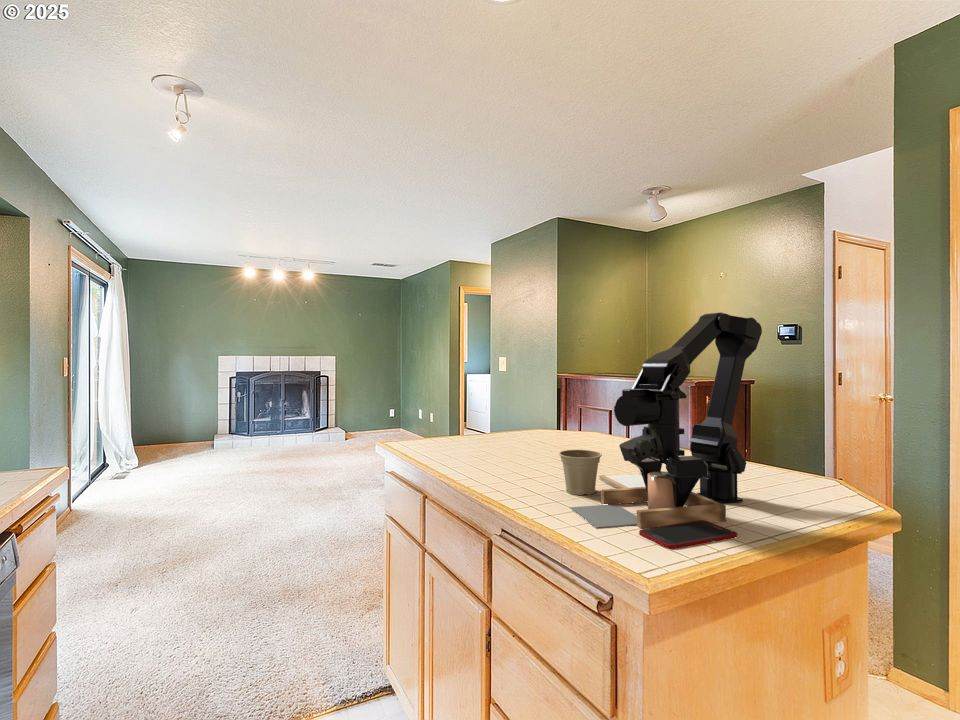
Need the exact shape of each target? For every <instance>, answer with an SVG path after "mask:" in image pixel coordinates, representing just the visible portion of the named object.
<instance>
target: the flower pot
mask: <svg viewBox="0 0 960 720" xmlns="http://www.w3.org/2000/svg"><path fill="white" fill-rule="evenodd" d="M558 455H559V456H560V460H561V463H562V468H563V469H562V470H563V475H564V481H565V489H566V492H568V494H571V495H576V496H583V495H588V496H590V495H592V494H594V493H595V492H596V485H597V484H596V483H597V476H598V467H599V463H600V462H601V457H602V456H603V455H602V453H601V452H600V451H596V450H591V449H589V450H588V449H566V450H561V451H560V452H558Z"/></svg>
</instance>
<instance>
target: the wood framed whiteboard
mask: <svg viewBox="0 0 960 720" xmlns="http://www.w3.org/2000/svg"><path fill="white" fill-rule="evenodd" d="M598 476H599V477H598V479H599V480H600V481H601V482H603V483H605V484H606V485H609V486H611V487H613V489H619V488H635V487H645V483H644V480H643V477H642V474H641V472H640V473H638V474H627V475H614V476H613V475H611V476H608V475H607V476H606V475H605V474H604V475H603V474H602V475H598Z"/></svg>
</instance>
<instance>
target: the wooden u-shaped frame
mask: <svg viewBox="0 0 960 720" xmlns="http://www.w3.org/2000/svg"><path fill="white" fill-rule="evenodd" d="M644 501H648V493H647V490H646V487H635V488H619V489H616V488H606V489H601V490H600V504H601V503H602V504H601V505H603V504H617V505H620V504H619V503H625V504H633V503H632V502H638V503H645V502H644ZM726 508H727V507H726V505H725V504H724V503H718V502H716V501H713V500H711V499H709V498H706V497H704V496H701V495H699V494H697V492H694V491H693V490H692V491H691V493H690V495H689V497H688V499H687V501H686V503H685V505H684V506H683V507H672V508H659V509H648V508H647V509H637V510H636V516H637V525H636V527H637V528H639V529H648V528H655V527H661V526H667V525H673V524H679V523H686V522H692V521H698V520H705V521H708V522H711V523H718V522H726V521H727V509H726Z"/></svg>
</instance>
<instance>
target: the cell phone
mask: <svg viewBox="0 0 960 720" xmlns="http://www.w3.org/2000/svg"><path fill="white" fill-rule="evenodd" d="M638 535H639V536H641V537H643V538H646V540H650V541H652V542H654V543H655V544H657V545H658V546H661V547H663V548H664V549H668V550H676V549H678V550H679V549H683V548H688V546H689V547H693V546H699V545H704V544H705V545H706V544H709V543H711V544H712V543H713V542H721V541H727V540H732V539H731V538H733V539H736V538H735V537H737V536H738V533H737V532H736V531H734V530H732V529H729V528H727V527H725V526H721V525H718V524H716V523H715V522H708V521H705V520H698V521H692V522H686V523H679V524H673V525H667V526H661V527H650V528H642V529H640V530H639V531H638ZM738 537H739V536H738ZM738 537H737V538H738Z"/></svg>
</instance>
